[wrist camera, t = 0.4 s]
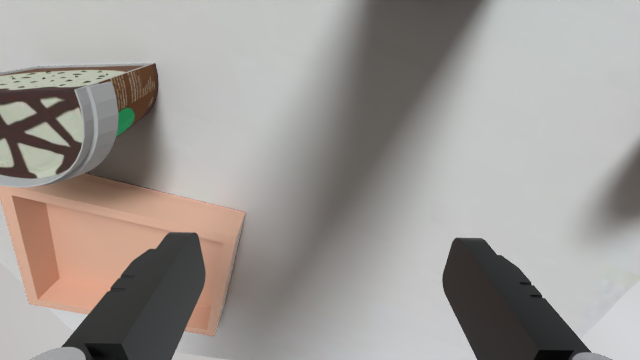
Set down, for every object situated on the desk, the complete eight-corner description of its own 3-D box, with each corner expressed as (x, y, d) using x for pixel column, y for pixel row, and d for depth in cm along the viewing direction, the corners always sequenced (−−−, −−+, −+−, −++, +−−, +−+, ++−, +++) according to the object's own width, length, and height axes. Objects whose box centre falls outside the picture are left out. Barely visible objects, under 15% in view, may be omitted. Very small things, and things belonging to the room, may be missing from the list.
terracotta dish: (36, 161, 27) (-5, 182, 24) (245, 212, 30) (236, 237, 27) (57, 275, 35) (29, 304, 31) (223, 307, 38) (214, 336, 34)
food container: (57, 138, 26) (-72, 198, 18) (21, 66, 23) (-157, 95, 15) (192, 135, 26) (129, 193, 17) (173, 62, 23) (86, 89, 14)
